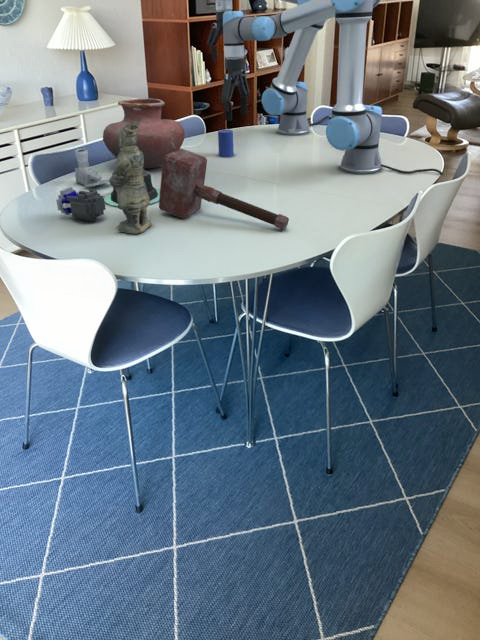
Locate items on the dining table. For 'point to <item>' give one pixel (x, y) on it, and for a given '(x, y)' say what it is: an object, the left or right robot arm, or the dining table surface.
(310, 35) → the left robot arm
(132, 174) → the statue
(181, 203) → the sledgehammer
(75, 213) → the toy
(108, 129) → the clay pot
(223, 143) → the canister
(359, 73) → the right robot arm
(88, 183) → the grey l-shaped piece
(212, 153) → the dining table surface
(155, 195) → the chocolate cake
